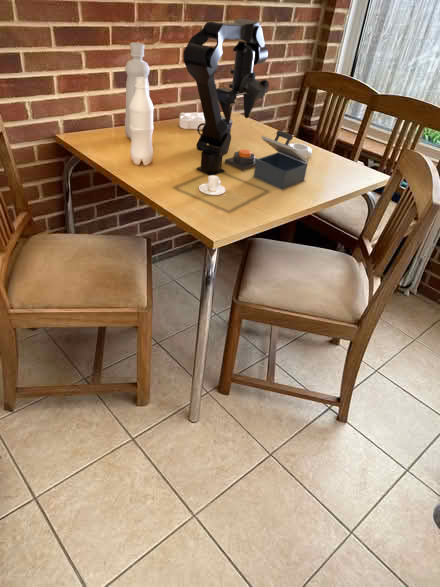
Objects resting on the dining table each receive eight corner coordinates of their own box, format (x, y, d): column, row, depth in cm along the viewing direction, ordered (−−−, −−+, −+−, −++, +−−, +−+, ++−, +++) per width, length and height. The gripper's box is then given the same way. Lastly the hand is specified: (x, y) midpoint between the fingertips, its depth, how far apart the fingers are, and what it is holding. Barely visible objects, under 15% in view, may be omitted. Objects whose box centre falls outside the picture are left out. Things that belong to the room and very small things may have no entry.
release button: (245, 159, 149) (245, 154, 148) (236, 155, 151) (236, 150, 150) (252, 156, 151) (253, 152, 150) (243, 153, 153) (244, 148, 152)
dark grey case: (282, 190, 139) (286, 171, 135) (253, 177, 144) (256, 159, 141) (303, 181, 146) (307, 163, 142) (275, 169, 152) (278, 152, 148)
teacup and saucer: (211, 181, 139) (212, 168, 136) (232, 190, 135) (234, 177, 133) (193, 189, 133) (193, 176, 130) (214, 199, 129) (215, 185, 127)
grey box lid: (291, 150, 132) (298, 135, 131) (260, 138, 138) (267, 124, 137) (307, 163, 142) (314, 150, 141) (278, 151, 148) (284, 139, 147)
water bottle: (149, 168, 141) (149, 82, 126) (127, 164, 142) (124, 78, 127) (156, 160, 147) (157, 77, 132) (135, 156, 148) (133, 73, 133)
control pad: (242, 170, 148) (244, 162, 146) (224, 162, 152) (225, 154, 150) (261, 164, 154) (263, 155, 152) (244, 156, 158) (245, 148, 156)
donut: (289, 148, 169) (279, 155, 162) (290, 139, 167) (281, 146, 160) (314, 155, 166) (305, 163, 159) (316, 146, 164) (307, 153, 157)
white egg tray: (212, 118, 190) (227, 129, 180) (171, 119, 183) (185, 131, 172) (213, 109, 188) (228, 121, 177) (172, 111, 181) (185, 122, 170)
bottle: (120, 135, 162) (118, 41, 144) (144, 133, 167) (144, 41, 149) (131, 144, 157) (130, 46, 139) (155, 141, 161) (156, 46, 143)
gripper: (243, 76, 128) (236, 132, 137) (282, 70, 140) (274, 122, 149) (215, 67, 134) (210, 121, 143) (254, 63, 145) (248, 113, 155)
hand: (237, 120), depth 147 cm, fingers open, 9 cm apart
